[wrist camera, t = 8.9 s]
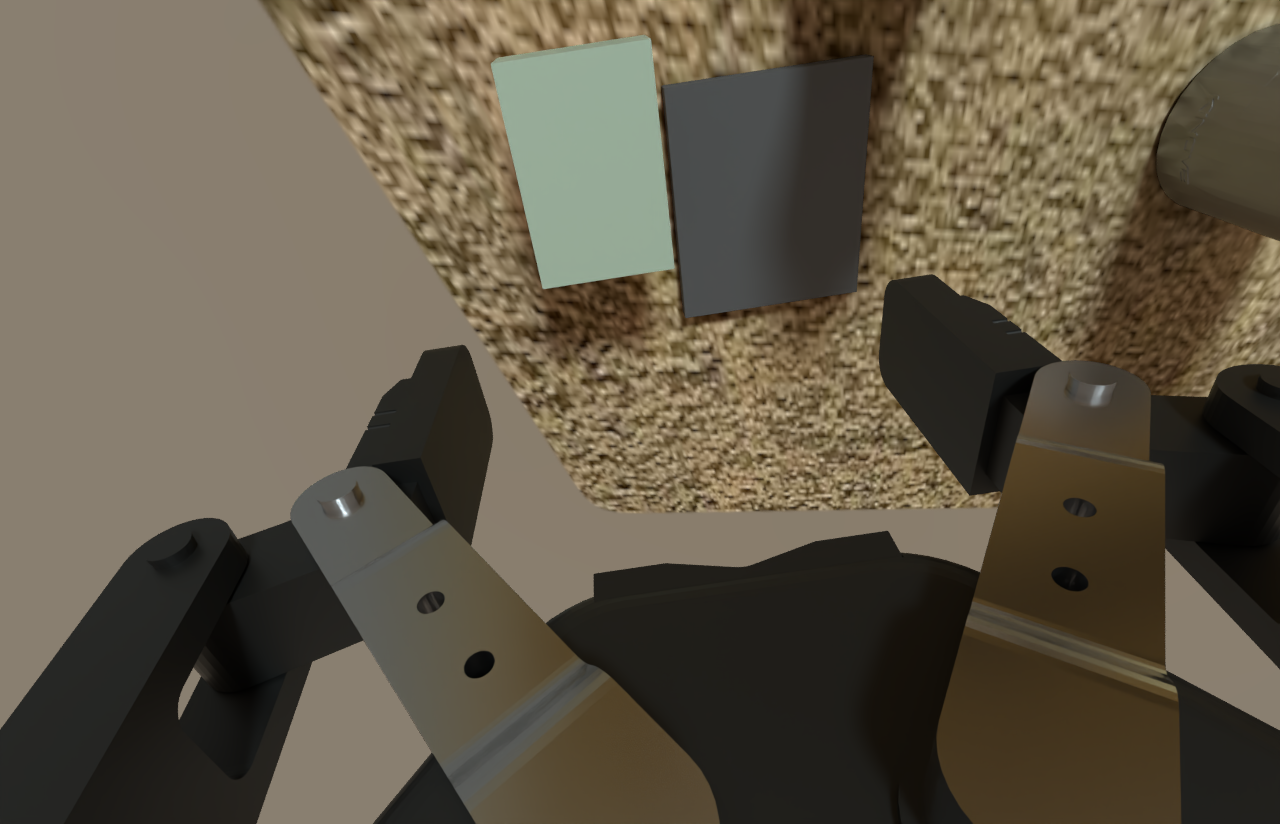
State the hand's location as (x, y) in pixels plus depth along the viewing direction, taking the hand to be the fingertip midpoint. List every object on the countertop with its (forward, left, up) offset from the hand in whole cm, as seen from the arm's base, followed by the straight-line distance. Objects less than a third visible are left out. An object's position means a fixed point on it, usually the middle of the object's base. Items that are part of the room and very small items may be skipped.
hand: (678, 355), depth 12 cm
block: (+1, 0, -19) cm, 19 cm away
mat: (-8, +4, -23) cm, 25 cm away
